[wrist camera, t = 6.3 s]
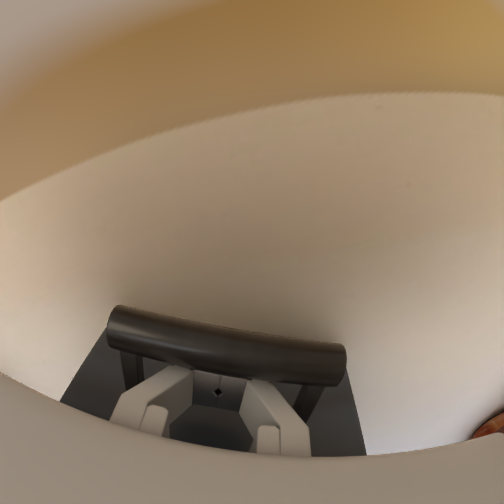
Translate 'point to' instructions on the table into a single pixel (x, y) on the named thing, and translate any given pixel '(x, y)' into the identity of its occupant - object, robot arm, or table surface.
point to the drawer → (228, 363)
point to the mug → (491, 427)
